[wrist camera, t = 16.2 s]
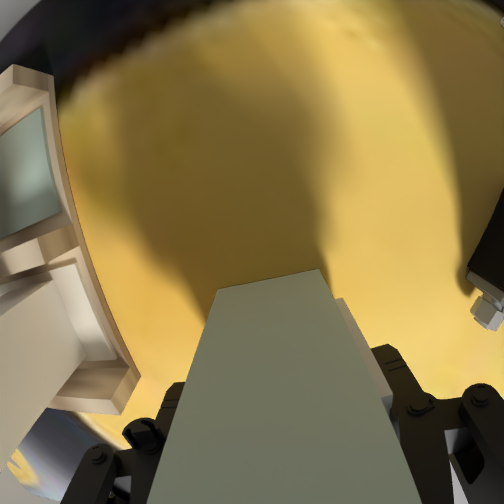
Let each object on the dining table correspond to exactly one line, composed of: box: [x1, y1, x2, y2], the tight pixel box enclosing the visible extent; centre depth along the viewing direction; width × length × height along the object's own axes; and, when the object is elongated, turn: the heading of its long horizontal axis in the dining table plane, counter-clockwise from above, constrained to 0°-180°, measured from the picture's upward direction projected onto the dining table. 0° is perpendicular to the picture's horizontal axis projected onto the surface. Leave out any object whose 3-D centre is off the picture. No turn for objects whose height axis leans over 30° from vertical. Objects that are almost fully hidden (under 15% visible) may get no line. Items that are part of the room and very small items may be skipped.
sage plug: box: [147, 269, 422, 504], centre depth 9 cm, size 5×5×12 cm
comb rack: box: [0, 64, 141, 415], centre depth 13 cm, size 10×19×4 cm, turn 13°
